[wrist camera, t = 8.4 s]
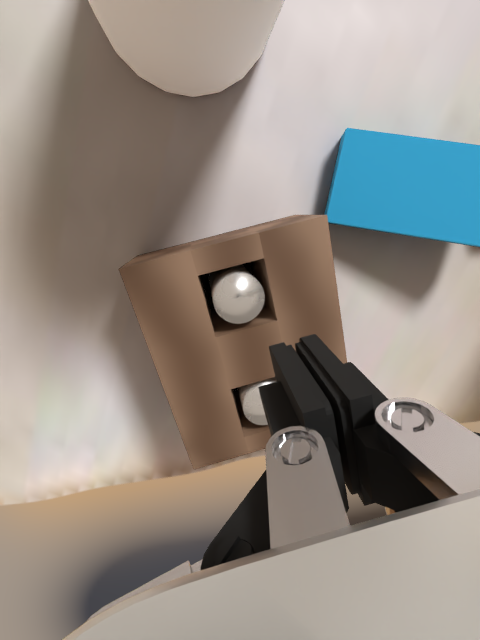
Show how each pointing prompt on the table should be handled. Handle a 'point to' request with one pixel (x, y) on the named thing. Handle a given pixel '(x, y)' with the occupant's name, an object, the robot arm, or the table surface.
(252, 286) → the peg
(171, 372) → the walnut block
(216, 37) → the white jar
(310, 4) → the table surface
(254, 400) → the peg
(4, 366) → the table surface
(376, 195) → the blue block
